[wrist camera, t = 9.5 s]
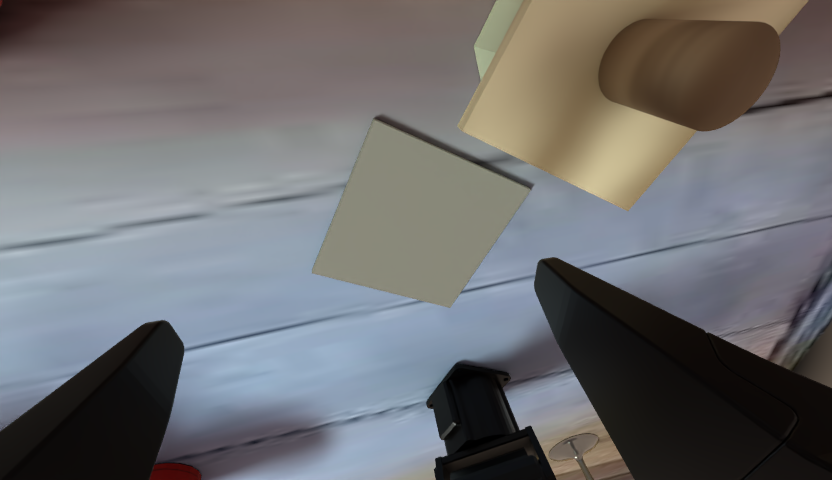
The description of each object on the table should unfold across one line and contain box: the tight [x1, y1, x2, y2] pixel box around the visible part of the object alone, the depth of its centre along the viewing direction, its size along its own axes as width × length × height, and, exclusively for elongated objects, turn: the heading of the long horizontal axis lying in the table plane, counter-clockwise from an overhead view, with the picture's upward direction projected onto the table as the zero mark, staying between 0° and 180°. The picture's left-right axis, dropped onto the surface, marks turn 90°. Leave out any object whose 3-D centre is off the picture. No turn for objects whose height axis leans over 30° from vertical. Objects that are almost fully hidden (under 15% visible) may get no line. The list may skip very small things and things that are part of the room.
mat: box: [312, 118, 531, 308], centre depth 23 cm, size 11×11×1 cm
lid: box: [458, 0, 809, 211], centre depth 13 cm, size 11×11×5 cm
